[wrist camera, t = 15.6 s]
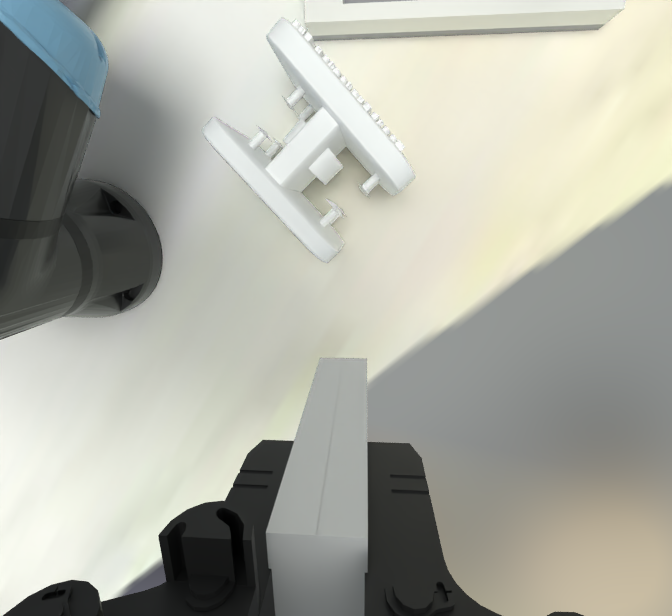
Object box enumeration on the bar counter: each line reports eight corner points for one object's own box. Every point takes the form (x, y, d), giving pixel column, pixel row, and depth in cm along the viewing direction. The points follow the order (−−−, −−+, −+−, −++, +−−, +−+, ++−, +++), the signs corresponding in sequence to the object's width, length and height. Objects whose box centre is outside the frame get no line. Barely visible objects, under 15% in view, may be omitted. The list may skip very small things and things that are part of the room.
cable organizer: (236, 145, 38) (182, 118, 27) (308, 64, 35) (282, -4, 24) (335, 252, 40) (322, 268, 29) (409, 182, 37) (427, 170, 26)
